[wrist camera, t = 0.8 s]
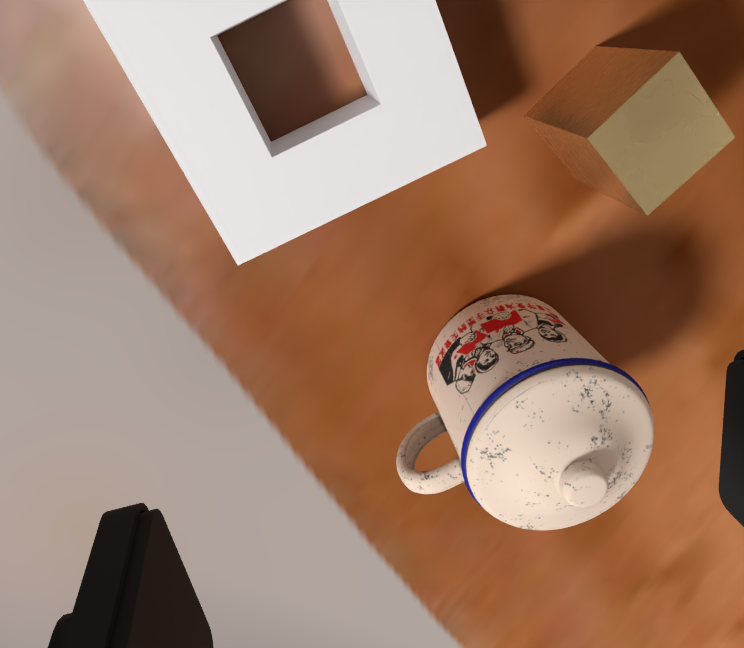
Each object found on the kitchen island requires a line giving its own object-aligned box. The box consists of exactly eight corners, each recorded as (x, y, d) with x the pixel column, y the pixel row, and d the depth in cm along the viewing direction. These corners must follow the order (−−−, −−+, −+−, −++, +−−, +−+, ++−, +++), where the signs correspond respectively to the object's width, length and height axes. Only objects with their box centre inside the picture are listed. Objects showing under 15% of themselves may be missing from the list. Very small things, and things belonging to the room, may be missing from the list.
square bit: (595, 46, 31) (679, 51, 25) (644, 115, 33) (735, 137, 27) (523, 115, 32) (587, 138, 26) (575, 180, 34) (647, 215, 27)
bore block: (360, -145, 27) (375, -171, 23) (461, 131, 32) (486, 145, 28) (98, -11, 27) (73, -17, 23) (241, 238, 32) (237, 265, 29)
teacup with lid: (544, 259, 35) (662, 358, 25) (593, 385, 39) (713, 516, 29) (347, 359, 36) (381, 496, 26) (414, 473, 40) (468, 632, 29)
